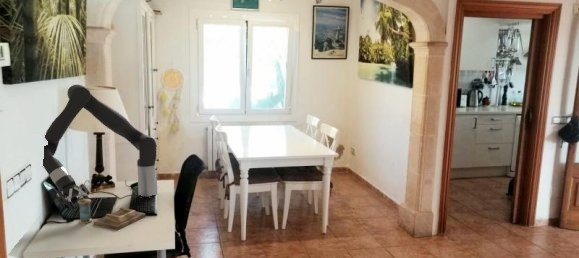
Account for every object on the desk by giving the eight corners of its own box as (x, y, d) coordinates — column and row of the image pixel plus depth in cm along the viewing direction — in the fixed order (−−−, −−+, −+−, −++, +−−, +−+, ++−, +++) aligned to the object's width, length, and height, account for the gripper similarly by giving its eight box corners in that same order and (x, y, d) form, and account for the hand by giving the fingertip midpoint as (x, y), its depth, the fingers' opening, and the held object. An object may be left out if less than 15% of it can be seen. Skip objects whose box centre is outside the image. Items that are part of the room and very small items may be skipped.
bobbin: (86, 218, 211) (84, 198, 209) (94, 220, 209) (93, 200, 207) (76, 222, 206) (75, 201, 204) (85, 224, 204) (84, 203, 202)
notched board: (122, 211, 221) (122, 203, 220) (145, 216, 215) (145, 208, 215) (93, 224, 204) (93, 216, 204) (117, 230, 199) (117, 221, 198)
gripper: (52, 178, 201) (73, 206, 199) (78, 170, 214) (98, 197, 212) (45, 188, 204) (65, 216, 202) (71, 179, 217) (90, 206, 215)
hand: (82, 206), depth 207 cm, fingers open, 8 cm apart
